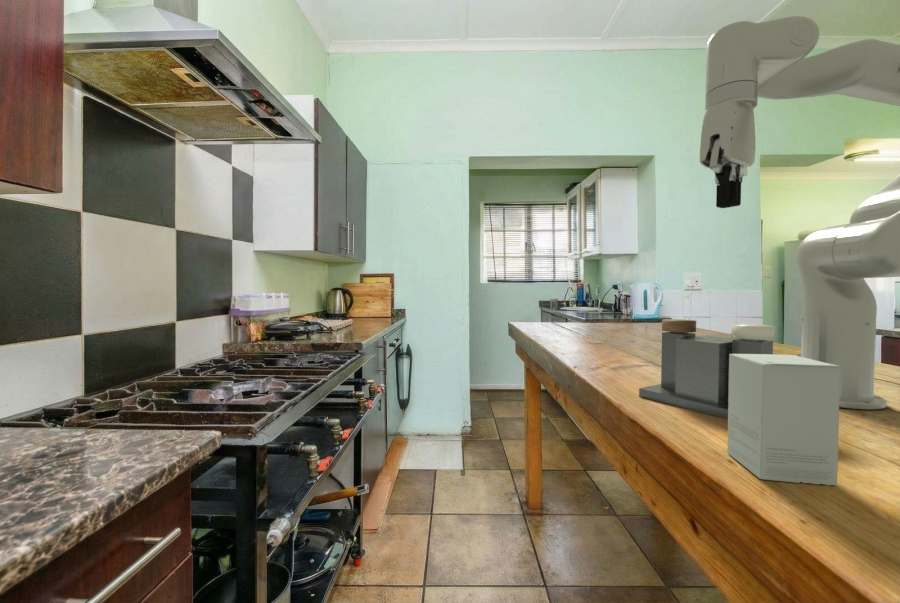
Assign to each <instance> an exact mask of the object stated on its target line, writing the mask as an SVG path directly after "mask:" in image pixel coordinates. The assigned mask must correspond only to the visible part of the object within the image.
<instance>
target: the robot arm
mask: <svg viewBox="0 0 900 603" xmlns="http://www.w3.org/2000/svg"><path fill="white" fill-rule="evenodd" d="M819 38H820V28H819V26H818V24H817V23H816V21H815V20H813V19H811V18H810V17H806V16H801V15H793V16H786V17H781V18H776V19H770V20H767V21H761V22H753V21H748V20H743V21H736V22H732V23H730V24H727V25H725V26H723V27H721V28H720V29H718V30H717V31H715V32H714V33H713V34H712V35H711V36H710V38H709V39H708V41H707V44H706V61H705V62H706V64H705V65H706V66H705V68H706V69H705V71H706V72H705V108H704V111H705V112H704V115H703V119H702V120H703V121H702V124H701V125H702V126H701V132H700V133H701V134H700V145H699V146H700V147H699V163H700V165H701V166H703V167H705V168H706V169H710V170H711V171H713V172H714V178H715V179H714V181H715V182H714V184H716V194H715V195H716V200H715V202H716V203H715V207H716V208H720V209H727V208H734V207H739V206H740V205H742V204H741V203H742V202H741V200H742V183H743V177H745V176H748V168H749V167H751V166H753V165H754V163H755V160H756V159H755V158H756V126H755V125H756V124H755V122H756V121H755V114H754V113H755V112H754V109H755V108H757V106H758V98H760V99H765V100H766V99H767V100H791V99H792V100H793V99H802V98H803V99H805V98H814V97H824V96H829V95H840V96H846V97H851V98H857V99H861V100H867V101H871V102H876V103H882V104H886V105H891V106H897V107H900V44H897V43H893V42H889V41H888V42H887V41H883V40H879V39H875V38H868V39H867V38H866V39H862V40H858V41H857V40H856V41H854V42H850V43H846V44H843V45H841V46H837V47H835V48H831V49H829V50H826V51H823V52H821V53H818V54H815V55H812V56H808V55H809V54H810V53H811V52H812V51H813V50H814V49H815V47H816V46H817V44H818V42H819ZM796 261H797V267H798V271H799V276H800V279H801V287H802V321H801V322H802V323H801V352H800V353H801V354H800V357H804V358H808V359H812V360H816V361H820V362H824V363H829V364H833V365H838V366H840V389H839V408H844V409H854V410H855V409H856V410H882V409H885V408H886V407H887V405H888V404H887V402H888V401H887V400H886V399H885V398H883V397H881V396H879V395H876V394H874V392H875V390H874V389H875V363H876V360H875V359H876V340H877V338H876V336H877V335H876V334H877V332H876V331H877V316H878V315H877V314H878V313H877V312H878V310H877V309H878V307H877V301H876V300H877V299H876V297H875V295H874V293H873V291H872V289H871V287H870V286H869V285H868V283H867V282H866V280H865V279H869V278H870V279H871V278H873V279H875V278H881V279H883V278H899V277H900V173H899V174H898V175H896V177H894V178H893V179H892V180H890V181H889V182H888V183H886V184H885V185H884V186H882V187H881V188H879V189H878V190H877V191H876V192H875V193H873V194H872V195H871V196H869V197H868V198H866V199H864V201H863V202H862V203H860V204H859V205H858V206H857V208H855V209H854V211H853V212H852V214H851V216H850V219H849V223H845V224H841V225H834V226H828V227H825V228H820V229H819V230H816V231H814V232H812V233H810V234H809V235H807V236H806V237H805V238H804V239H803V240H802V241H801V243H800V244H799V245H798V248H797V253H796Z"/></svg>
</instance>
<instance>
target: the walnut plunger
mask: <svg viewBox="0 0 900 603" xmlns="http://www.w3.org/2000/svg"><path fill="white" fill-rule="evenodd" d="M661 331H663V332H670V333H674V334H687V333H696V332H697V320H694V319H686V318H685V319H681V318H664V319H661Z"/></svg>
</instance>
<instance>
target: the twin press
mask: <svg viewBox="0 0 900 603" xmlns="http://www.w3.org/2000/svg"><path fill="white" fill-rule="evenodd" d="M773 350H774V341H773V340H763V341H762V342H754V341H744V340H742V339H741V338H734V337H730V336H729V337H726V336H718V335H714V336H713V335H700V336H696V332H687V334H674V333H670V332H669V331H663V332H661V361H660V362H661V367H660V368H661V370H660V371H661V372H660V373H661V374H660V377H661V378H660V380H661V381H660V383H659V384H654V385H649V386H645V387H639V388H638V397H641V398H645V399H649V400H653V401H656V402H661V403H664V404H668V405H671V406H674V407H675V406H676V407H680V408H683V409H687V410H689V411H690V410H691V411H694V412H698V413H703V414H706V415H710V416H714V417H718V418H721V419H725V420H728V396H729V354H773V353H774V351H773Z"/></svg>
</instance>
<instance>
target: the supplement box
mask: <svg viewBox="0 0 900 603" xmlns="http://www.w3.org/2000/svg"><path fill="white" fill-rule="evenodd" d="M839 389H840V366H838V365H833V364H829V363H824V362H820V361H816V360H812V359H808V358H804V357H801V355H800V356H799V355H796V354H795V355H794V354H729V396H728V419H727V448H726V449H727V450H726V452H727V454H728V455H729V456H731V457H732V458H734V460H736V461H737V462H738V463H740V465H742V466H743V467H744V468H746V469H747V470H748V471H749V472H751V473H752V474H754V476H756V477H757V478H758V479H760V480H764V481H765V480H766V481H774V482H775V481H776V482H785V483H797V484H801V483H800V482H803V483H802V484H806V483H810V484H809V485H819V484H828V485H827V486H831V485H835V486H837V485H838V465H839V429H840V428H839V426H840V425H839V424H840V422H839V421H840V407H839ZM811 483H812V484H811Z"/></svg>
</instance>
